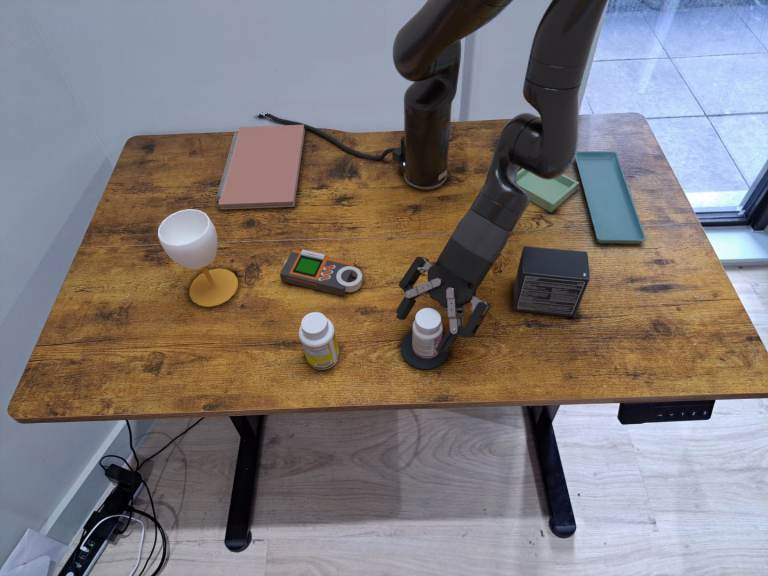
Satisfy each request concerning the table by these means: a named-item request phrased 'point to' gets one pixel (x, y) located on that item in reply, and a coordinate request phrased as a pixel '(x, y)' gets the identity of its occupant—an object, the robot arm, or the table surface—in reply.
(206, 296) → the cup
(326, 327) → the supplement bottle
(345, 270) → the electronic device
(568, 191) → the tray
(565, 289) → the small box
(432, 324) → the pill bottle
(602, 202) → the shallow long dish
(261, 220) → the table surface
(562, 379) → the table surface
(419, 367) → the coaster
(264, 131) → the notebook
